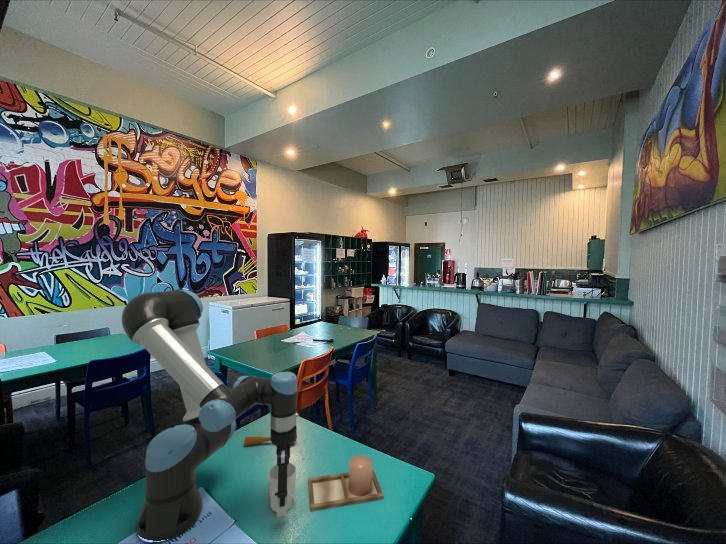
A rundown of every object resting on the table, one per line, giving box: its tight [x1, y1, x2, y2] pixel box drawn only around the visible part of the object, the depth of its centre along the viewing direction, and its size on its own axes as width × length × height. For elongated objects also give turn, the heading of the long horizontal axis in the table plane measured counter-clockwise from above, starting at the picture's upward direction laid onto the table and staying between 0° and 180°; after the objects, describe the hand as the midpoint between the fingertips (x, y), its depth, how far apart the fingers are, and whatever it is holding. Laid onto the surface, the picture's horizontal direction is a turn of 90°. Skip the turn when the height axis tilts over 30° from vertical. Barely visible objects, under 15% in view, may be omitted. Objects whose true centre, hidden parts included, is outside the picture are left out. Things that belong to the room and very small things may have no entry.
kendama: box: [243, 433, 298, 447], centre depth 117 cm, size 6×6×20 cm
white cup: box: [268, 462, 297, 513], centre depth 88 cm, size 8×8×10 cm
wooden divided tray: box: [307, 468, 385, 512], centre depth 92 cm, size 22×12×2 cm, turn 104°
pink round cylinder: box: [348, 454, 374, 496], centre depth 93 cm, size 7×7×8 cm
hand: (282, 496), depth 88 cm, fingers open, 13 cm apart
